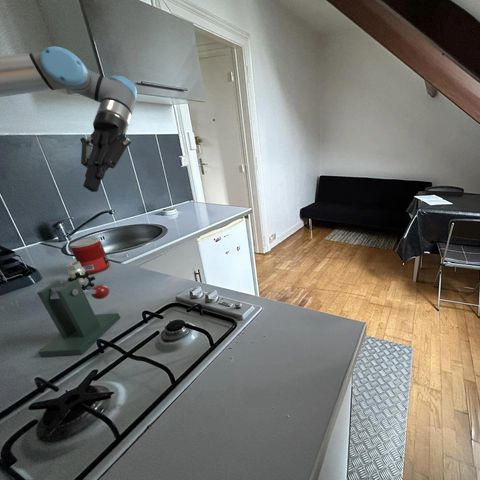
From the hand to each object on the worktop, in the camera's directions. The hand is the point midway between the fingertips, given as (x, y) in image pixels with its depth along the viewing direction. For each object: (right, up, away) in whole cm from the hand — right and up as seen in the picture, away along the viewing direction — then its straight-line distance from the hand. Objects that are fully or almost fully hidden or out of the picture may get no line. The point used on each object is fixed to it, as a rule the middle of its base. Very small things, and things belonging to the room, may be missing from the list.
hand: (90, 188), depth 68 cm
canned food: (-20, -24, +26) cm, 41 cm away
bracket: (+4, -36, -6) cm, 37 cm away
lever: (+4, -28, -6) cm, 29 cm away
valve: (-16, -28, +16) cm, 36 cm away
